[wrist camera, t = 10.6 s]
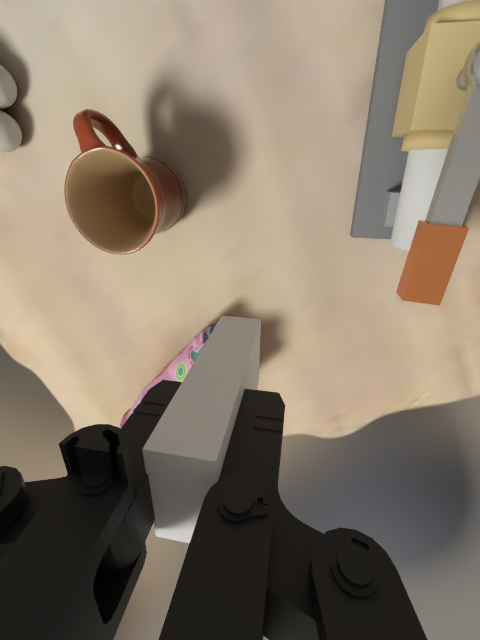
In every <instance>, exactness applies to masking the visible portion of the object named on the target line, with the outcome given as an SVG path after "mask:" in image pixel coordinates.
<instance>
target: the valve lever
mask: <svg viewBox="0 0 480 640" xmlns="http://www.w3.org/2000/svg"><path fill="white" fill-rule="evenodd" d="M463 79H464V83H465V85H466V87H467V88H468V89H467V92H466V95H465V98H464V101H463V104H462V107H461V111H460V114H459V117H458V120H457V123H456V126H455V129H454V132H453V136H452V139H451V142H450V145H449V148H448V151H447V154H446V157H445V161H444V164H443V167H442V170H441V173H440V176H439V179H438V182H437V185H436V189H435V192H434V195H433V198H432V201H431V204H430V207H429V210H428V214H427V217H426V220H425V221H424V220H419V221H418V224H417V227H416V231H415V234H414V237H413V240H412V243H411V247H410V250H409V253H408V256H407V259H406V263H405V266H404V269H403V272H402V275H401V279H400V282H399V285H398V288H397V294H398V295H399V296H400V298H401V299H402V300H405V301H412V302H419V303H426V304H433V305H440V303H441V301H442V298H443V295H444V293H445V290H446V287H447V285H448V282H449V280H450V277H451V274H452V272H453V269H454V266H455V264H456V261H457V258H458V256H459V253H460V251H461V248H462V245H463V243H464V240H465V237H466V235H467V232H468V230H469V228H467V227H464V226H462V224H463V221H464V219H465V216H466V213H467V211H468V208H469V205H470V203H471V200H472V197H473V194H474V192H475V189H476V186H477V184H478V181H479V178H480V41H479V42H478V43H477V44H476V45H475V46H474V47H473V48H472V50H471V51H470V53H469V54H468V56H467V58H466V61H465V64H464V68H463Z"/></svg>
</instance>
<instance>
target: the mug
mask: <svg viewBox="0 0 480 640" xmlns="http://www.w3.org/2000/svg"><path fill="white" fill-rule="evenodd" d="M73 125H74V130H75V133H76V136H77V138H78V141H79V145H80V149H81V152H82V153H81V154H79V155H78V156H77V157H76V158H75V159H74V160H73V161H72V163H71V165H70V167H69V169H68V172H67V175H66V180H65V201H66V206H67V209H68V212H69V215H70V217H71V219H72V221H73V223H74V225H75V226H76V228H77V229H78V231H79V232H80V233H81V234H82V235H83V237H84V238H85V239H87V240H88V241H89V242H90V243H91V244H93V245H94V246H96V247H97V248H99V249H101V250H103V251H106V252H109V253H113V254H129V253H133V252H136V251H138V250H140V249H141V248H143V247H144V246H145V245H146V244H148V242H149V241H150V240H151V239H152V237H153V236H154V235H155V234H158V233H160V232H164V231H166V230H168V229H170V228H171V227H173V226H174V225H175V224H176V223H177V222H178V221H179V220H180V218H181V217H182V215H183V214H184V211H185V207H186V201H187V197H186V190H185V187H184V184H183V182H182V180H181V178H180V177H179V175H178V174H177V173H176V172H175V171H174V170H173V169H172V168H171V167H169V166H168V165H167V164H166V163H164V162H161V161H158V160H155V159H152V158H140V157H138V156H137V154H136V152H135V151H134V149H133V148H132V146H131V145H130V144H129V143H128V141H127V140H126V139H125V137H124V136H123V134H122V133H121V132H120V130H119V129H118V128H117V126H116V125H115V124H114V123H113V122H112V121H111V120H110V119H109V118H107V117H106V116H105V115H103V114H102V113H100V112H97V111H95V110H91V109H86V110H83V111H81V112H79V113H78V114H76V116H75V117H74V120H73ZM93 127H94V128H96V129H97V130H99V131H100V132H101V133H102V134H104V135H105V137H106V138H107V139H108V140H109V142H110V143H111V145H112V146H113V147H109V146H106V145H105V144H104V143H103V142H102V141H101V140H100V139H99V137H98V136H97V135H96V133H95V131H94V129H93Z"/></svg>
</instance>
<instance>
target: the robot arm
mask: <svg viewBox="0 0 480 640" xmlns="http://www.w3.org/2000/svg"><path fill="white" fill-rule="evenodd" d="M260 334H261V319H255V318H243V317H232V316H221V318H220V319H219V321H218V323H217V324H216V326H215V328H214V329H213V331H212V333H211V334H210V336H209V338H208V339H207V341H206V343H205V344H204V346H203V348H202V350H201V351H200V353H199V355H198V356H197V358H196V360H195V361H194V363H193V365H192V366H191V368H190V370H189V371H188V373H187V375H186V377H185V378H184V380H183V382H178V381H170V380H162V381H160V382H159V383H157V384H156V385H154V386H153V387H151V388H150V389H149V390H148V391H147V393H146V394H145V396H144V397H143V398H142V400H141V402H140V404H138V405H137V407H136V408H135V409H134V411H133V414H131V415H130V416H129V418H128V419H127V420H126V422H125V423H124V425H123V426H122V427H121V429H120V428H118V427H115V426H112V425H109V424H96V425H92V426H88V427H84V428H82V429H80V430H78V431H76V432H74V433H72V434H70V435H69V436H67V437H66V438H65V439H64V440H63V441H61V442H60V443H59V446H60V449H61V453H62V456H63V459H64V462H65V466H66V469H67V472H68V475H67V476H66V477H62V478H57V479H48V480H41V481H33V482H24V480H23V477H22V475H21V473H20V472H19V471H18V470H17V469H16V468H12V467H7V466H1V467H0V640H113V638H114V636H115V633H116V631H117V629H118V626H119V624H120V621H121V619H122V616H123V614H124V612H125V609H126V607H127V604H128V602H129V600H130V597H131V594H132V592H133V590H134V587H135V585H136V582H137V580H138V578H139V575H140V572H141V571H142V568H143V565H144V562H145V558H146V554H147V552H146V545H145V541H146V538H147V536H148V534H149V532H150V529H151V527H152V525H153V522H154V526H155V532H156V536H158V537H163V538H167V539H172V540H177V541H182V542H186V543H190V544H189V547H188V550H187V553H186V556H185V560H184V563H183V566H182V569H181V572H180V575H179V578H178V581H177V585H176V588H175V591H174V594H173V597H172V600H171V603H170V606H169V610H168V613H167V616H166V619H165V622H164V625H163V628H162V632H161V635H160V637H159V640H263V636H265V637H266V638H268V639H269V640H427V638H426V636H425V633H424V631H423V629H422V626H421V624H420V622H419V620H418V617H417V615H416V613H415V610H414V608H413V606H412V603H411V601H410V599H409V597H408V594H407V592H406V590H405V587H404V585H403V583H402V581H401V578H400V576H399V574H398V571H397V569H396V567H395V565H394V564H393V562H392V561H391V559H390V557H389V556H388V554H387V552H386V551H385V550H384V549H383V548H382V547H381V546H380V545H378V543H376V542H375V541H374V540H373V539H372V538H370V537H369V536H367V535H365V534H363V533H361V532H359V531H357V530H353V529H346V528H337V529H334V530H330V531H327V532H326V533H324V534H323V533H321V532H319V531H317V530H315V529H313V528H312V527H310V526H308V525H306V524H304V523H302V522H301V521H300V520H298V519H297V518H295V517H294V516H293V515H292V514H291V513H290V512H289V511H288V510H287V509H286V507H285V506H284V504H283V502H282V501H281V499H280V495H279V492H278V477H279V466H280V457H281V445H282V435H283V423H284V411H285V405H284V402H283V400H282V398H281V396H280V394H279V393H276V392H268V391H260V390H256V389H257V385H258V381H259V359H260Z"/></svg>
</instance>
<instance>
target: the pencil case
mask: <svg viewBox="0 0 480 640" xmlns="http://www.w3.org/2000/svg"><path fill="white" fill-rule="evenodd" d="M214 328H215V326H213V325H210V326H208V327H206V328H205V329H204V330H202V331H201V334H199V335H198V336H196V337H195V338H194V339H193V340H192V341H191V342H190V343H189V344H188V345H187V346H186V347H185V348H184V349H183V350H182V351H181V352H180V354H178V356H177V357H176V358H175V359H174V360H173V361H172V362H171V363H170V364H169V365H168V366H167V367H166V368H165V369H164V370H163V371H162V372H161V373H160V374H159V375H158V376H157V377H156V378H155V379H153V380H152V381H151V382H150V383H149V384H148V385H147V386H146V388H145V389H144V390H143V391H142V393H141V394H140V396H139V397H138V398H137V400H136V401H135V403H134V405H133V406H132V408H130V409H129V410H128V411H127V412H126V413H125V414H124V416H123V418H122V420H121V424H120V429H121V427H122V426H123V425H124V423H125V422H126V420H127V419H128V418H129V416H130V415H131V414H133V411H134V409H135V408H136V407H137V405H138V404H140V402H141V400H142V398H143V397H144V396H145V394H146V393H147V391H148V390H149V389H150V388H151V387H153V386H154V385H156V384H157V383H159V382H160V381H162V380H170V381H178V382H183V380H184V378H185V377H186V375H187V373H188V371H189V370H190V368H191V366H192V365H193V363H194V361H195V360H196V358H197V356H198V355H199V353H200V351H201V350H202V348H203V346H204V344H205V343H206V341H207V339H208V338H209V336H210V334H211V333H212V331H213V329H214Z"/></svg>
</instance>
